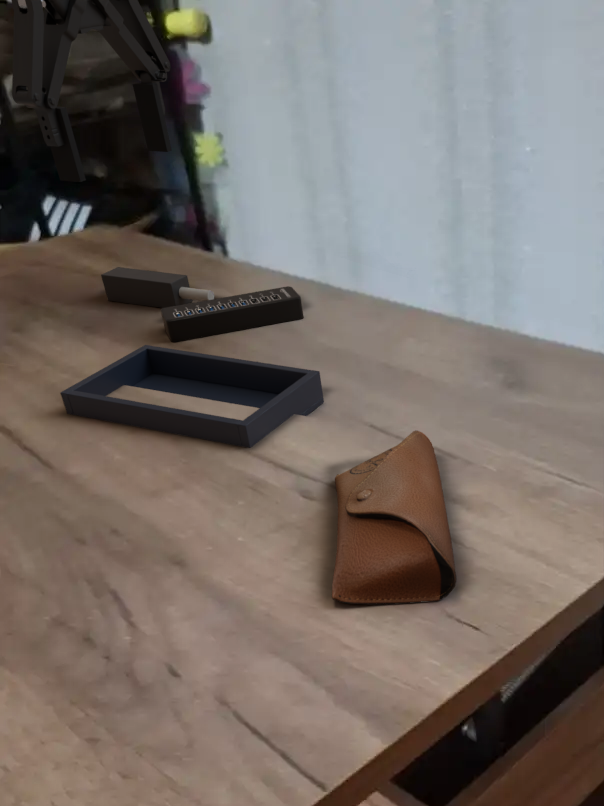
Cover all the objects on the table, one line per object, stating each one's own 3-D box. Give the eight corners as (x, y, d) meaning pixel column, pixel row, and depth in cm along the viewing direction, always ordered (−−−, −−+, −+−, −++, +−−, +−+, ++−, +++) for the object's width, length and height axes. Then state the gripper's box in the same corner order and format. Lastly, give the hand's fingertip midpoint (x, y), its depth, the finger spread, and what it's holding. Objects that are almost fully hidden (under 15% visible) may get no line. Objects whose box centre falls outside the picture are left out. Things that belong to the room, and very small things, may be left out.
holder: (70, 423, 85) (59, 392, 84) (153, 374, 94) (145, 344, 92) (252, 458, 79) (245, 425, 77) (324, 402, 87) (319, 370, 85)
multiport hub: (164, 329, 103) (159, 307, 102) (294, 305, 108) (290, 285, 106) (171, 342, 100) (166, 321, 99) (304, 318, 104) (301, 297, 103)
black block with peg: (107, 300, 111) (100, 274, 109) (124, 292, 113) (117, 266, 111) (205, 314, 106) (200, 286, 105) (221, 305, 109) (216, 278, 107)
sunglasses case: (327, 472, 75) (362, 401, 72) (407, 504, 78) (444, 437, 75) (329, 606, 62) (372, 525, 58) (426, 639, 64) (472, 564, 61)
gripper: (-22, -83, 77) (61, 197, 90) (173, -95, 95) (218, 141, 108) (-87, -80, 80) (2, 192, 93) (114, -92, 97) (165, 138, 111)
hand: (118, 165), depth 101 cm, fingers open, 13 cm apart
